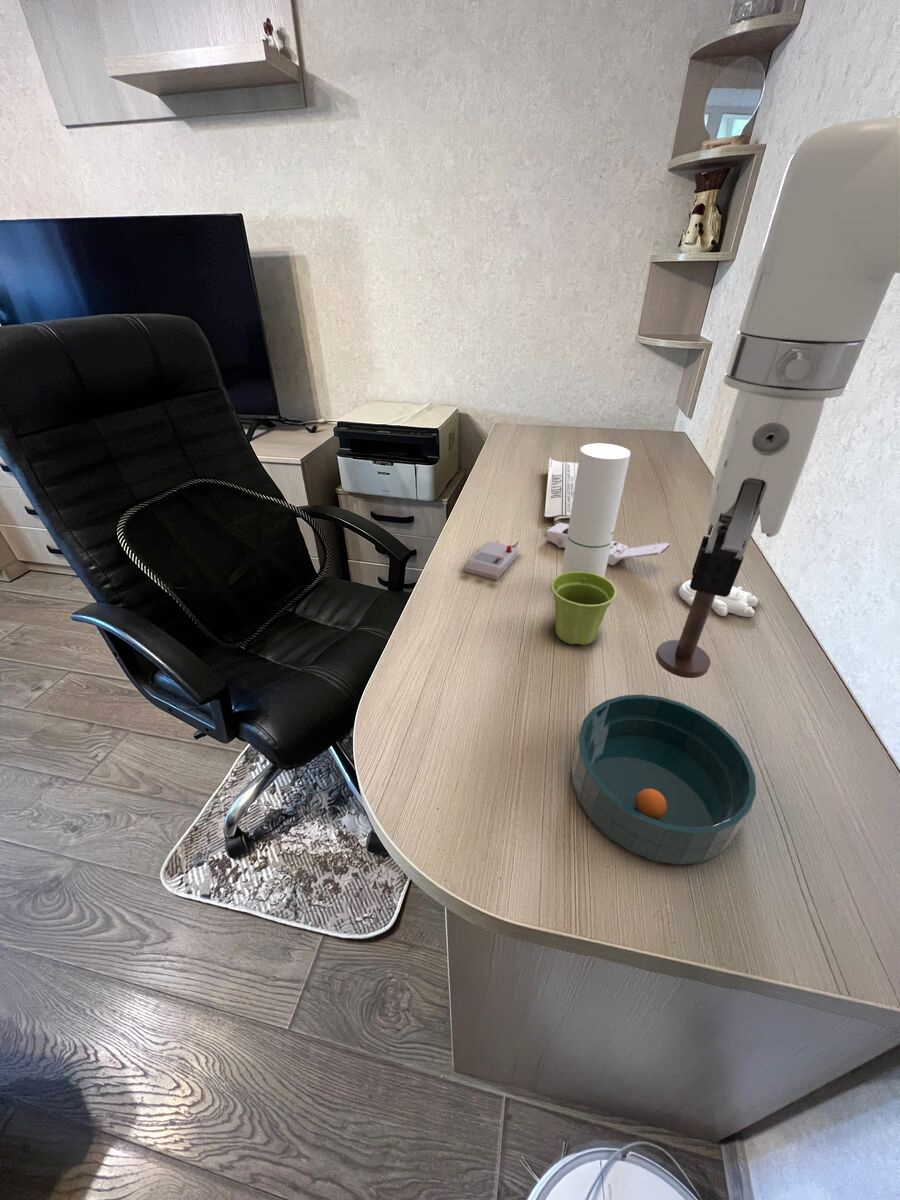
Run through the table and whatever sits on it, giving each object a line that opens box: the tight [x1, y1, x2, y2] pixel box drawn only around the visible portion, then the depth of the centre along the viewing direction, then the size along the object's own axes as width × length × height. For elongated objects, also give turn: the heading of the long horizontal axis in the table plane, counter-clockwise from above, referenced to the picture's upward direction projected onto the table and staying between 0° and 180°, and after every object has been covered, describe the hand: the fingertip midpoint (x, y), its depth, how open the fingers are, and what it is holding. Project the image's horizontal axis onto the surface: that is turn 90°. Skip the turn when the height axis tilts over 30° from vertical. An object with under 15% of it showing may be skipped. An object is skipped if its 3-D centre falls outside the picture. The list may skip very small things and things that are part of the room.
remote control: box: [464, 541, 520, 581], centre depth 96 cm, size 7×16×3 cm, turn 152°
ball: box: [635, 789, 667, 820], centre depth 52 cm, size 3×3×3 cm
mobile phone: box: [545, 523, 671, 566], centre depth 97 cm, size 6×6×25 cm
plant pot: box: [550, 571, 618, 646], centre depth 76 cm, size 9×9×9 cm
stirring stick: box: [655, 529, 727, 679], centre depth 46 cm, size 5×5×15 cm
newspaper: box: [544, 457, 579, 525], centre depth 122 cm, size 35×12×4 cm, turn 172°
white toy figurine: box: [678, 579, 759, 618], centre depth 85 cm, size 9×12×3 cm
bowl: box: [571, 693, 757, 865], centre depth 54 cm, size 17×17×6 cm
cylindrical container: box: [560, 442, 631, 578], centre depth 81 cm, size 7×7×25 cm
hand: (709, 584), depth 45 cm, fingers closed on stirring stick
